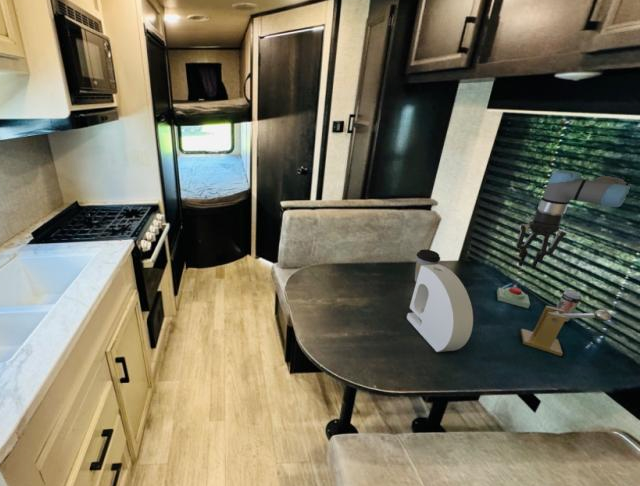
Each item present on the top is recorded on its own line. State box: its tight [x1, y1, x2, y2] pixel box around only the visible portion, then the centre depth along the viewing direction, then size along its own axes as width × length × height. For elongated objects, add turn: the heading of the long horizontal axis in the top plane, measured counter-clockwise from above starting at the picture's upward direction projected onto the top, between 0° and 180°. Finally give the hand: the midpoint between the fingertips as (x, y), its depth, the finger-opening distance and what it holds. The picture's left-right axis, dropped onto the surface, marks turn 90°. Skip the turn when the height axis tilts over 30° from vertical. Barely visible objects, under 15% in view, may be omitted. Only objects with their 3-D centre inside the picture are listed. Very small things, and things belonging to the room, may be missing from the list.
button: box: [510, 286, 523, 295], centre depth 132 cm, size 4×4×2 cm
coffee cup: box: [414, 248, 441, 283], centre depth 144 cm, size 9×9×15 cm
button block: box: [496, 287, 531, 309], centre depth 133 cm, size 10×8×4 cm
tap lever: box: [547, 309, 612, 322], centre depth 102 cm, size 14×4×4 cm, turn 55°
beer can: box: [555, 289, 582, 322], centre depth 120 cm, size 5×5×12 cm
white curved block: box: [406, 263, 474, 353], centre depth 109 cm, size 7×21×25 cm, turn 6°
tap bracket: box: [520, 305, 566, 357], centre depth 108 cm, size 10×8×14 cm
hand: (526, 266), depth 127 cm, fingers open, 3 cm apart
